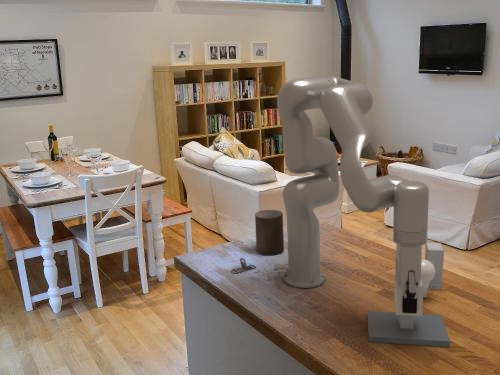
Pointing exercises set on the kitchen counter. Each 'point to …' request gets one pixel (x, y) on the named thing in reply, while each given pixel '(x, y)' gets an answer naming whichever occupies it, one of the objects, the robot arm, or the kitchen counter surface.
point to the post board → (407, 329)
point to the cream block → (399, 296)
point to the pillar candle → (269, 232)
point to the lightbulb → (426, 274)
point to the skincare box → (435, 263)
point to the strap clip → (244, 267)
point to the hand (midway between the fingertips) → (407, 305)
